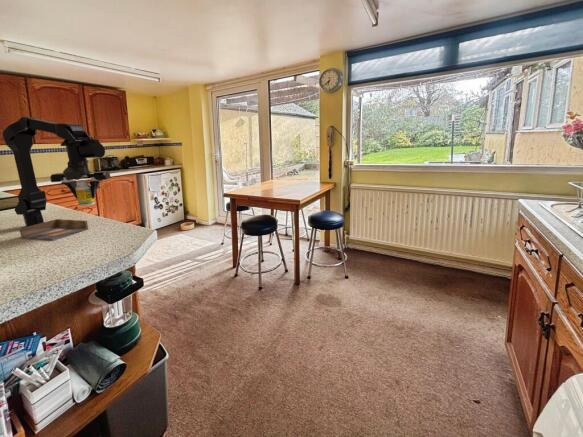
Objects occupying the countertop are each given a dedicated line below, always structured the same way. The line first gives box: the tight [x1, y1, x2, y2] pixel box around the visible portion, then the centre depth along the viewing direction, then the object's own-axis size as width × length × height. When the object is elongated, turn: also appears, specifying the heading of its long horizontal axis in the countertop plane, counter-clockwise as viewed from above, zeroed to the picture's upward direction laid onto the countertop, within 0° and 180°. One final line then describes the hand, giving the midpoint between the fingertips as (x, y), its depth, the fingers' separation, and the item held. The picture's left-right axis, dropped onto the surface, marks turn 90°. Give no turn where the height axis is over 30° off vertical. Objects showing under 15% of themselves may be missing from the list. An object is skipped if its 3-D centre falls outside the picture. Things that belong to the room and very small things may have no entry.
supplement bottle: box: [75, 179, 96, 207], centre depth 120 cm, size 5×5×10 cm
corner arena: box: [19, 218, 89, 242], centre depth 118 cm, size 16×14×4 cm
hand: (85, 198), depth 121 cm, fingers closed on supplement bottle, 5 cm apart
